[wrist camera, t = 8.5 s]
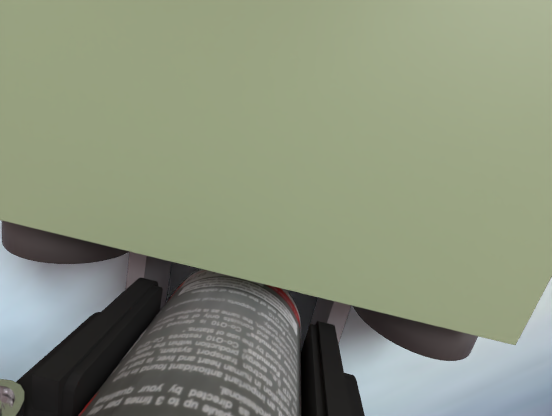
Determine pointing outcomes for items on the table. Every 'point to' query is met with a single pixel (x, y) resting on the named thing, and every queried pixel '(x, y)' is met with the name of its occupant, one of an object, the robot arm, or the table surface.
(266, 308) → the pill bottle
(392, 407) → the table surface
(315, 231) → the cart
